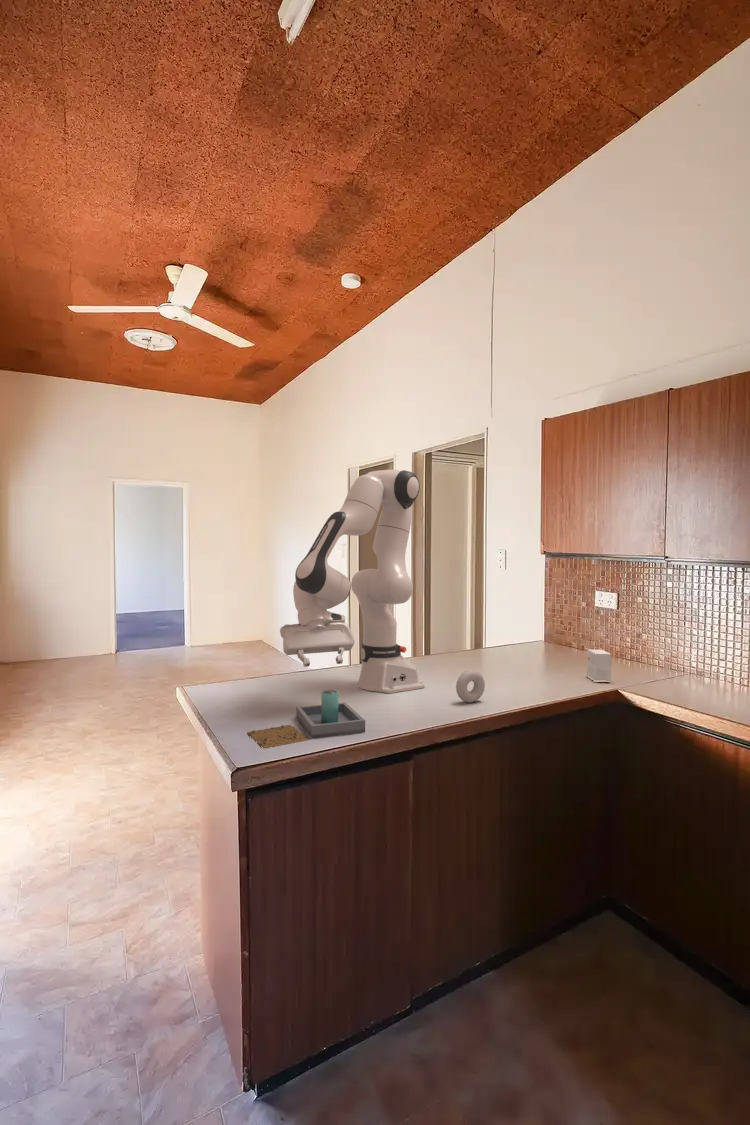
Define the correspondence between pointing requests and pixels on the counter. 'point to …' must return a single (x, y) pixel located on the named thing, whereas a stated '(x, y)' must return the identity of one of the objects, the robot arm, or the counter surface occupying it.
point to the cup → (329, 706)
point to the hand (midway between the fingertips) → (323, 664)
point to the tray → (345, 725)
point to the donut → (463, 682)
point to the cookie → (277, 736)
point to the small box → (599, 664)
